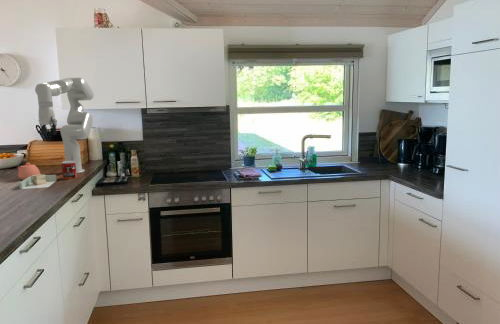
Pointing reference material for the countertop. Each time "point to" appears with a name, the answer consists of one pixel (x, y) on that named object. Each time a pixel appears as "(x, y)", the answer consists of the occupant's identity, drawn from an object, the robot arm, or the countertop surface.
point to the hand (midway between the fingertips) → (49, 134)
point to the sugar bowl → (27, 171)
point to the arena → (29, 184)
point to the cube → (39, 179)
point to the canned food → (69, 170)
